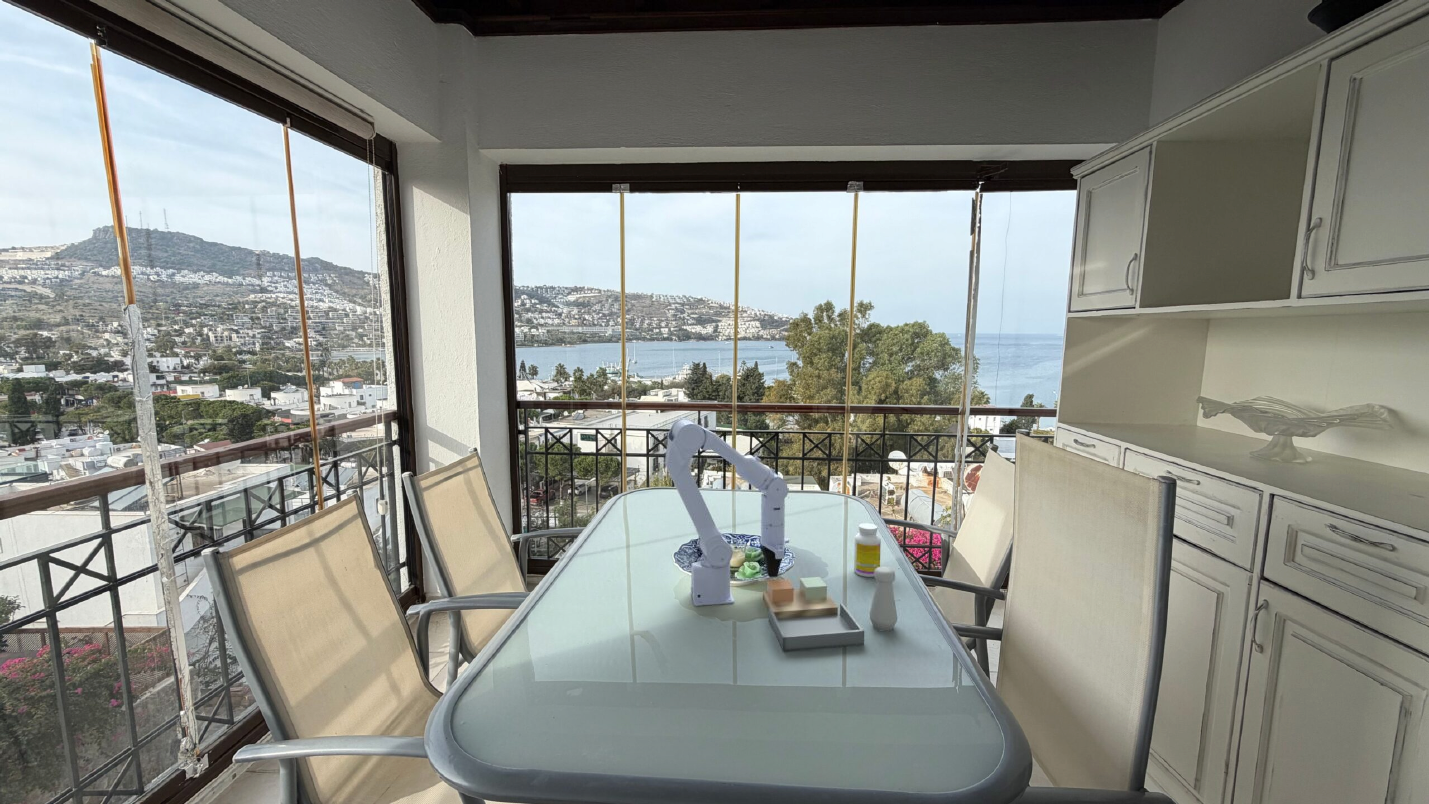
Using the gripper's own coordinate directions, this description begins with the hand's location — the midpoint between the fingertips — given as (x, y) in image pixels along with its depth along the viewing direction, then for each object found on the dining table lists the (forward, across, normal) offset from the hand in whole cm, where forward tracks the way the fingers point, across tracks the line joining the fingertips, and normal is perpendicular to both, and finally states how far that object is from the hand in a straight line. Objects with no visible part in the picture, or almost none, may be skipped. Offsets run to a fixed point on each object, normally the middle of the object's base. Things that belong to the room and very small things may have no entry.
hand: (772, 575), depth 138 cm
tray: (+4, -21, -4) cm, 22 cm away
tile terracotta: (+2, -8, 0) cm, 8 cm away
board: (+4, -10, -4) cm, 11 cm away
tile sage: (+2, -8, -8) cm, 11 cm away
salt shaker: (+4, -20, -19) cm, 29 cm away
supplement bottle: (+4, +6, -27) cm, 28 cm away
